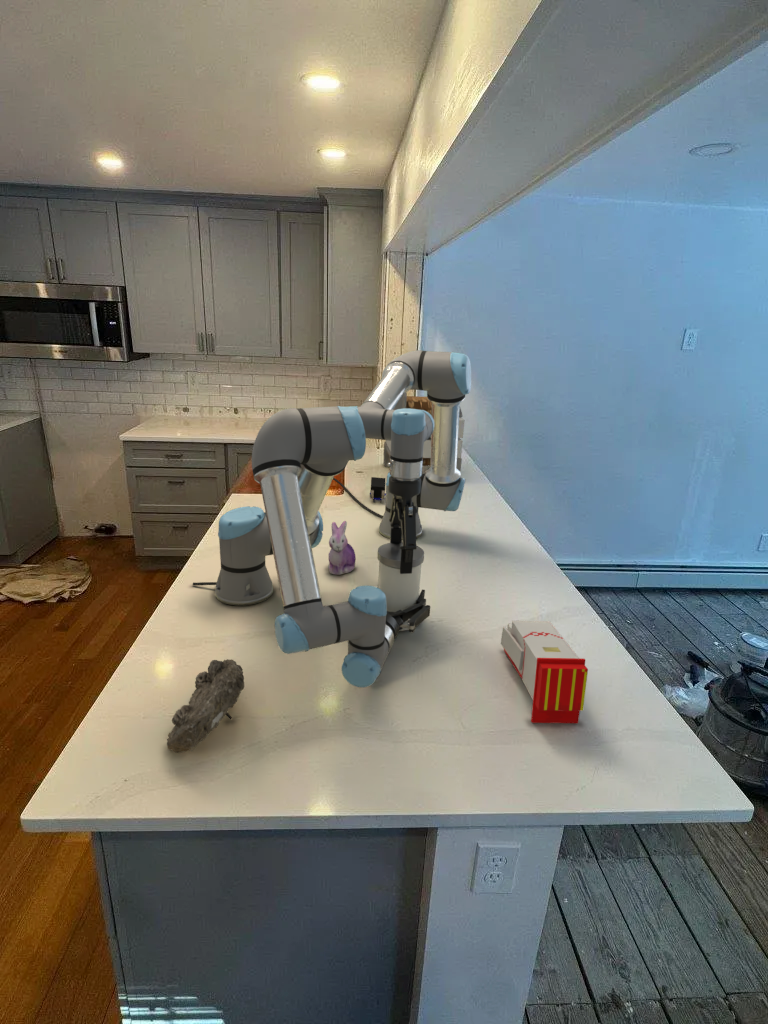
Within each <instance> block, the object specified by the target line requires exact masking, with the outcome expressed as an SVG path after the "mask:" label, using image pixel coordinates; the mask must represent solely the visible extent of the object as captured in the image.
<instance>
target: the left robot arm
mask: <svg viewBox="0 0 768 1024" xmlns="http://www.w3.org/2000/svg"><path fill="white" fill-rule="evenodd" d="M366 447H367V438H366V437H365V430H364V425H363V422H362V419H361V417H360V415H359V413H358V412H357V411H356V410H355V409H354V408H352V407H349V406H340V405H337V406H319V407H304V408H303V407H299V408H295V407H290V408H284V409H281V410H279V411H277V412H275V413H273V414H272V415H271V416H270V417H268V418H267V419H266V420H265V422H264V423H263V424H262V425H261V427H260V428H259V431H258V433H257V435H256V437H255V439H254V442H253V446H252V450H251V471H252V475H253V479H254V481H255V482H256V483H258V484H259V485H260V490H261V495H262V500H263V501H262V502H263V507H264V509H262V508H261V507H259V506H249V505H247V506H241V507H237V508H233V509H230V510H228V511H226V512H225V513H224V514H223V515H221V516H220V518H219V520H218V531H217V536H218V540H219V541H218V542H219V543H218V544H219V558H220V559H219V560H220V569H219V573H218V577H217V580H216V581H205V582H204V581H203V582H201V581H199V582H192V586H215V589H214V593H215V598H216V599H217V600H218V601H219V602H221V603H222V604H225V605H230V606H237V607H243V606H245V607H246V606H252V605H256V604H259V603H262V602H264V601H266V600H268V599H269V598H270V597H271V596H273V593H274V586H273V581H272V579H271V576H270V574H269V573H270V572H269V570H268V568H267V566H266V557H268V556H273V560H274V566H275V571H276V576H277V582H278V586H279V591H280V598H281V603H282V609H283V613H282V614H279V615H277V616H276V617H275V619H274V635H275V639H276V643H277V646H278V648H279V650H280V651H281V652H282V653H283V654H287V655H290V654H296V653H301V652H309V651H311V650H314V649H318V648H322V647H326V646H330V645H335V644H339V643H345V642H347V653H346V655H345V656H344V658H343V661H342V664H341V674H342V676H343V678H344V679H345V681H346V682H347V683H348V684H350V685H351V686H353V687H357V688H367V687H370V686H372V685H373V684H374V683H375V682H376V680H377V678H378V677H379V676H380V674H381V672H382V669H383V667H384V664H385V662H386V660H387V658H388V657H389V653H390V651H391V649H392V647H393V645H394V643H395V641H396V639H397V637H398V634H399V633H400V632H401V631H400V630H401V629H403V628H406V629H409V630H408V632H409V633H414V632H415V630H416V628H417V627H418V626H419V625H420V624H422V623H423V622H424V621H425V620H426V619H427V618H429V617H430V616H431V604H427V599H426V598H425V594H426V590H425V589H421V591H420V592H419V597H418V599H417V603H416V605H414V606H411V607H409V608H407V609H405V610H403V611H402V610H399V611H396V612H389V611H387V605H386V595H385V593H384V592H383V591H382V590H381V589H379V588H378V586H375V585H359V586H356V587H355V588H352V589H351V590H350V592H349V594H348V598H347V601H343V602H338V603H333V604H327V605H324V604H323V599H322V594H321V588H320V583H319V579H318V573H317V568H316V563H315V558H314V552H313V549H314V548H316V547H318V546H319V544H320V543H321V541H322V539H323V535H324V533H323V531H324V521H323V517H322V515H321V512H320V511H319V510H320V509H321V506H322V504H323V503H324V499H325V497H326V495H327V493H328V490H329V489H330V487H331V484H332V482H333V481H334V480H333V478H335V477H336V476H338V475H340V474H342V472H343V471H344V470H345V469H346V467H347V465H348V463H349V461H355V462H356V461H358V460H362V459H363V457H364V456H365V453H366ZM407 620H408V621H407ZM405 621H407V622H405Z"/></svg>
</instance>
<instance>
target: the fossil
mask: <svg viewBox="0 0 768 1024" xmlns="http://www.w3.org/2000/svg"><path fill="white" fill-rule="evenodd" d="M243 670H244V669H243V667H242V665H240V664H237V662H236V661H235V660H234V659H232V658H231V659H227V658H226V659H224V660H223V661H222V660H217V659H212V660H211V661H210V663H209V665H208V666H207V671H201V672H199V673H198V674H197V675H196V676H195V680H194V684H195V685H194V687H195V689H194V690H193V693H192V694H191V697H190V698H189V700H188V704H184V705H182V706H181V707H180V709H177V710H176V711H175V713H174V715H173V716H172V718H171V723H172V724H173V727H172V730H171V731H170V732H168V734H167V738H166V741H167V742H166V745H167V749H168V750H169V751H173V752H174V753H176V754H178V753H182V752H188V751H189V752H192V751H193V750H195V748H196V747H197V746H199V744H200V743H201V742H203V741H204V740H205V739H206V738H207V737H208V736H209V735H210V734H211V733H212V732H214V730H215V729H217V727H218V726H219V724H220V722H221V721H222V720H223V719H224V718H225V716H226V717H227V719H229V720H233V717H232V715H230V714H229V710H230V709H231V708H234V706H235V704H236V703H237V702H238V699H239V697H240V695H241V693H242V691H243V690H245V689H244V688H245V675H244V671H243Z"/></svg>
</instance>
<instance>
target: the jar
mask: <svg viewBox="0 0 768 1024" xmlns="http://www.w3.org/2000/svg"><path fill="white" fill-rule="evenodd" d="M421 573H422V564H420V565H419V566H416V567H412V573H410V574H400V568H394V567H390V566H386V565H384V564H382V563H381V562H380V561H379V560H378V580H377V581H378V582H377V587H378V588H379V589H381V590H382V591H383V592H384V593H385V595H386V605H387V611H389V612H396V611H399V610H402V611H403V610H405V609H407V608H409V607H411V606H414V605H416V603H417V599H418V597H419V595H420V589H421V575H422V574H421ZM407 621H408V620H407ZM407 621H405V622H407ZM404 631H409V629H406V628H403V629H401V630H400V631H399V632H404Z"/></svg>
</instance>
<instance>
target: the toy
mask: <svg viewBox="0 0 768 1024" xmlns="http://www.w3.org/2000/svg"><path fill="white" fill-rule="evenodd" d="M500 645H501V646H502V648H503V652H504V654H505V655H506V657H507V658H508V660H509V661H510V663H511V664H512V666H513V668H514V669H515V671H516V672H517V674H518V676H519V677H520V679H521V680H522V683H523V685H524V686H525V688H526V690H527V692H528V694H529V696H530V697H531V699H532V708H531V719H530V722H531V723H532V724H579V719H580V712H583V711H584V706H585V697H586V689H587V680H588V671H589V669H588V667H587V666H586V659H585V658H580V657H579V656H578V655H577V654H576V652H575V651H574V650H573V648H572V647H571V646H570V645H569V644H568V642H567V641H566V640H565V638H564V637H563V636H562V634H561V633H560V632H559V631H558V630H557V628H556V627H555V626H554V624H553V623H552V622H551V621H549V620H548V621H545V620H540V621H539V620H511V622H508V623H507V626H502V632H501V638H500Z"/></svg>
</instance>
